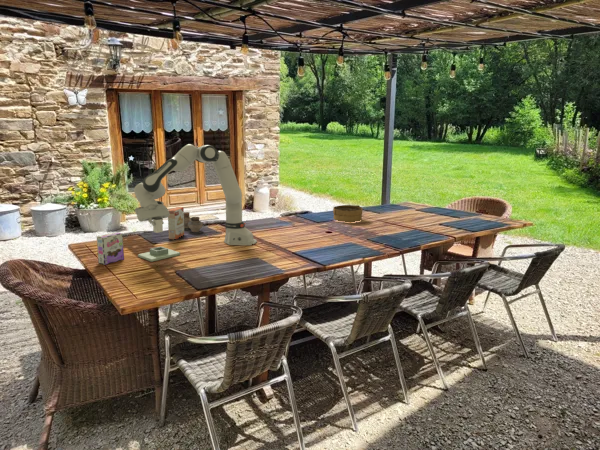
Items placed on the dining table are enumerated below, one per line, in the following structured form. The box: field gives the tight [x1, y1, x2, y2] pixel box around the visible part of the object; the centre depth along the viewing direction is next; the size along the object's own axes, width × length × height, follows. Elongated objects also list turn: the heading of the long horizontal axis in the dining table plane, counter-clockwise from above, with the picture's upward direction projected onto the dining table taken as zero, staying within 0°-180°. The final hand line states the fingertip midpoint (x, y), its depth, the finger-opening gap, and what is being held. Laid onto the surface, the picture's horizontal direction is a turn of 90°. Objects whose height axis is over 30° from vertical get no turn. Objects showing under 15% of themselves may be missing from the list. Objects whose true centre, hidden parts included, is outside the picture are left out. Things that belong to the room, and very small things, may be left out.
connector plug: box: [152, 217, 164, 234], centre depth 286 cm, size 4×4×9 cm
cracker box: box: [167, 206, 185, 240], centre depth 333 cm, size 14×6×21 cm, turn 168°
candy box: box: [96, 231, 125, 266], centre depth 276 cm, size 14×6×16 cm, turn 148°
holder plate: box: [137, 246, 181, 263], centre depth 289 cm, size 20×15×4 cm
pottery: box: [184, 211, 204, 233], centre depth 358 cm, size 11×25×12 cm, turn 40°
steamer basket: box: [332, 204, 363, 222], centre depth 398 cm, size 25×25×11 cm
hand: (158, 224), depth 285 cm, fingers closed on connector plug, 4 cm apart
